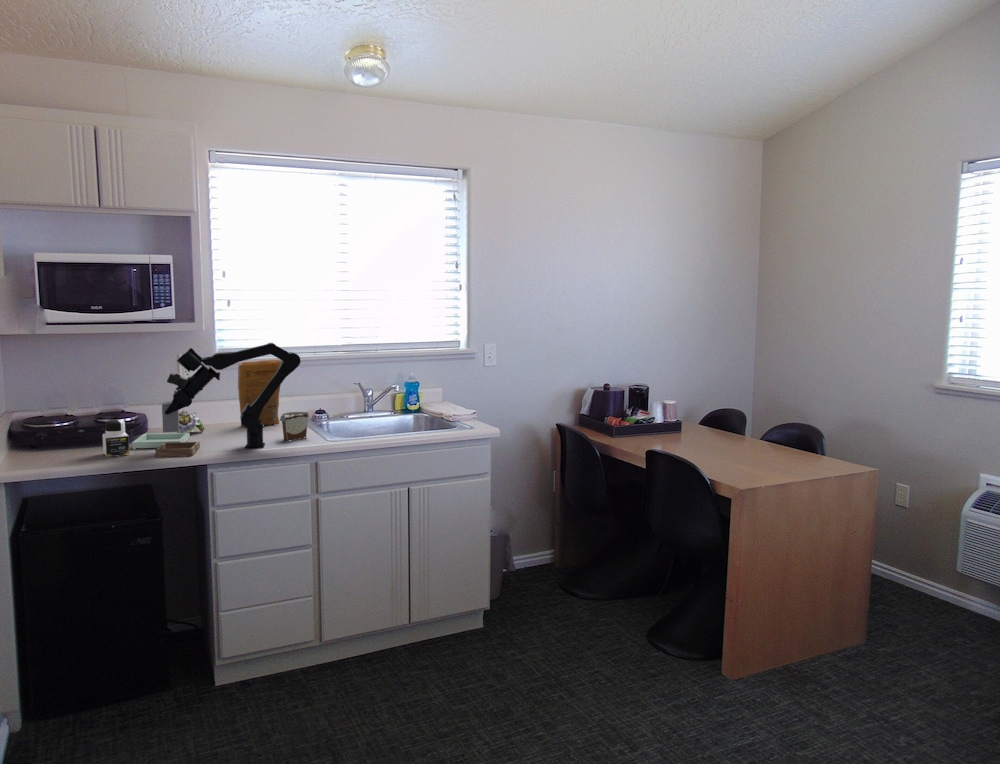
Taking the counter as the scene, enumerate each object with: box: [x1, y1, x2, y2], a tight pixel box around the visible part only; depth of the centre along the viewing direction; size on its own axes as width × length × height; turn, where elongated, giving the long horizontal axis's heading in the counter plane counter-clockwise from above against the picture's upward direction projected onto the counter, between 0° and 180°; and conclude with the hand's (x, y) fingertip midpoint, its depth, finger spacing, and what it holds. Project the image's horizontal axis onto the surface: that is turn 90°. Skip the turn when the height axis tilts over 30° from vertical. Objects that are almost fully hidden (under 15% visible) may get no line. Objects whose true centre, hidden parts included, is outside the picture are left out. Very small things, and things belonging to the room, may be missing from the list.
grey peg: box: [161, 401, 180, 433], centre depth 259 cm, size 5×5×10 cm
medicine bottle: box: [102, 419, 130, 457], centre depth 253 cm, size 7×7×12 cm
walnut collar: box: [154, 441, 201, 457], centre depth 258 cm, size 12×12×2 cm
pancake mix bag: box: [237, 359, 282, 427], centre depth 310 cm, size 7×19×28 cm, turn 124°
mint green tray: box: [131, 432, 191, 450], centre depth 271 cm, size 16×16×3 cm
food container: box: [279, 411, 310, 442], centre depth 285 cm, size 12×6×10 cm, turn 146°
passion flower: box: [176, 408, 205, 433], centre depth 292 cm, size 11×11×12 cm
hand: (166, 412), depth 258 cm, fingers closed on grey peg, 5 cm apart
